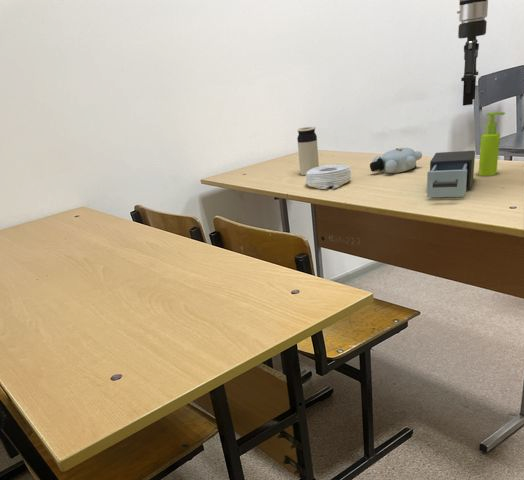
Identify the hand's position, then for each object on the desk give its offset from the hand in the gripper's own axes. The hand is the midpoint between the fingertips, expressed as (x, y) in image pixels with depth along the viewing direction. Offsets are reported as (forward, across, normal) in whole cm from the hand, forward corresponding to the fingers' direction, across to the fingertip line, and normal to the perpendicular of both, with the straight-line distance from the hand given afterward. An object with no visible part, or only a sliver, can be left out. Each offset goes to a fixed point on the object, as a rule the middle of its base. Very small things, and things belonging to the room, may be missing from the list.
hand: (468, 102), depth 161 cm
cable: (+25, -14, -50) cm, 58 cm away
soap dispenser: (+26, -19, +7) cm, 33 cm away
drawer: (+25, +9, -5) cm, 27 cm away
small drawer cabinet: (+26, -4, -4) cm, 27 cm away
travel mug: (+25, -34, -64) cm, 77 cm away
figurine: (+26, -32, -28) cm, 49 cm away
